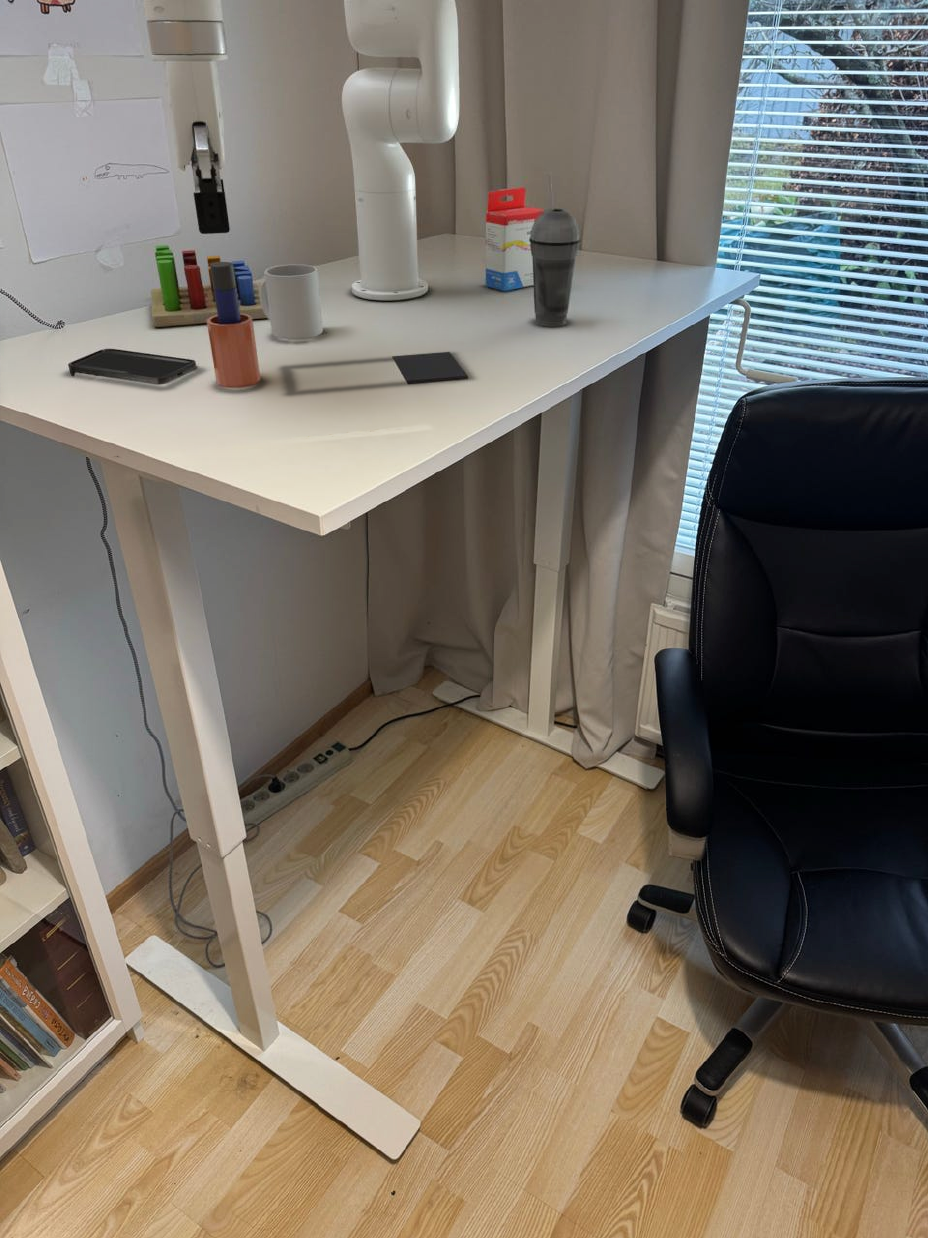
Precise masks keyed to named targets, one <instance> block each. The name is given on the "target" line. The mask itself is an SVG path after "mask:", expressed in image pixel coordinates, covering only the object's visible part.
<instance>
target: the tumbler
mask: <svg viewBox="0 0 928 1238" xmlns="http://www.w3.org/2000/svg"><path fill="white" fill-rule="evenodd" d="M240 317H241V323H236V324H219V321H218V315H215V316H212V317H210V318H208V319H207V323H206V326H207V333H208V339H209V345H210V350H211V356H212V363H213V369H214V375H215V381H216V384H217V385H219V387H220V386H221V387H224V388H231V389H232V388H237V389H238V388H246V387H249V386H253V385H256V384H258V383H259V382H260V381H261V371H260V365H259V358H258V350H257V349H258V348H257V343H256V337H255V327H254V322H253V321H254V319H252V316H250V315H248V314H243V313H240Z"/></svg>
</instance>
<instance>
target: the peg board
mask: <svg viewBox="0 0 928 1238" xmlns="http://www.w3.org/2000/svg"><path fill="white" fill-rule="evenodd" d="M181 254H182V255H181V257H182V262H183V270H184V276H185V281H186V286H179V280H178V274H177V268H176V261H175V256H174V252H173V251H172V249H170V246H169V244H163V245H161V244H160V245H156V246H155V252H154V257H155V261H156V267H157V274H158V277H159V284H160V288H153V289H151V290H150V300H151V301H150V302H151V303H150V305H151V318H152V324H153V326H154V327H156V328H161V327H172V326H182V325H183V326H185V325H197V324H207V319H208V318H210V317H212V316H215V315H218V314H217V308H216V301H215V295H214V288H213V282H212V276H211V269H210V264H212V263H216V262H222V261H221V256H220V255H207V256H206V261H207V270H208V277H209V284H205V285H203V280H202V273H201V267H200V265H198V261H197V255H196V250H195V249H194V250H192V249H190V250H182V251H181ZM230 263H233V268H234V275H235V282H236V289H237V296H238V303H239V310H240V313H243V314H248V315H250V316H252V320H257V319H268V318H267V317H266V315H265V314H264V311H263V309H262V306H261V302H260V296H259V286H260V282H261V281H254V280H253V274H252V271H250V266H249V265H246V264H245V261H244V260H232V261H230Z"/></svg>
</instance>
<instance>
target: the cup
mask: <svg viewBox="0 0 928 1238" xmlns="http://www.w3.org/2000/svg"><path fill="white" fill-rule="evenodd" d="M263 272H264V276H263V277H262V279H261V280H260V281H259V282H260V286H259V296H260V302H261V306H262V309H263V311H264V314H265V315H266V317H267V318H266V319H268V320H269V321H270V322H269V323H270V327H271V328H270V330H271V334H272V335H273V336H274V337H275V338H278V339H285V340H303V339H304V340H305V339H309V338H314V337H318V336H319V335H321V334H322V333H323V332H324V331H323V330H324V328H323V327H324V325H323V316H322V303H321V294H320V283H319V273H318V272H319V271H318V267H315V266H313V265H310V264H309V265H308V264H295V263H293V264H281V265H275V266H270V267H268V268H266V269H265V270H264V271H263Z"/></svg>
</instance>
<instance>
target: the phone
mask: <svg viewBox="0 0 928 1238" xmlns="http://www.w3.org/2000/svg"><path fill="white" fill-rule="evenodd" d="M67 366H68V370H69V373H70V375H73V376H75V375H76V373H78V374H85V375H90V376H91V375H92V376H98V377H105V378H112V379H119V380H125V381H132V382H138V383H144V384H151V385H164V384H167V383H169V382H172V381H173V380H175V379H177V378H179V377H182V376H184V375H186V374H187V373H190V372H191V371H193V370H195V369H196V368H197V362H196V360H195V359H191V358H182V357H175V356H167V355H160V354H154V353H147V352H141V351H140V352H138V351H132V350H126V349H125V350H124V349H118V348H117V349H116V348H102V349H100V350H97V351H95V352H91V353H90V354H88V355H87V354H86V355H85V356H82V357H80V358H77V359H76V360H73V361H71V362H68V364H67Z"/></svg>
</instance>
